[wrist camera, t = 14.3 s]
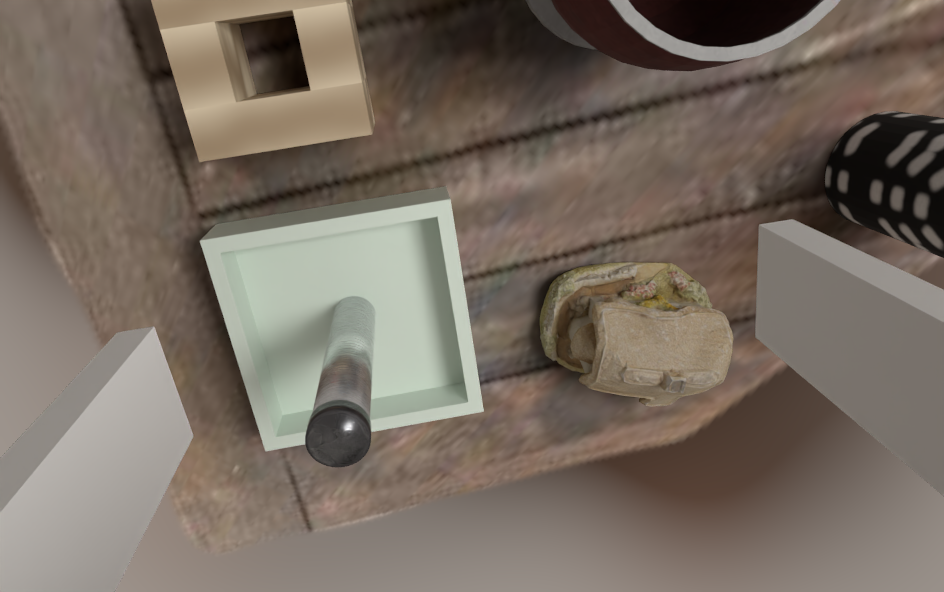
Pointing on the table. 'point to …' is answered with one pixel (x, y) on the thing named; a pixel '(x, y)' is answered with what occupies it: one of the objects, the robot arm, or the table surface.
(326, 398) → the pin
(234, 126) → the hitch block
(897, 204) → the white-spotted black cylinder
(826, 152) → the table surface
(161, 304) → the table surface
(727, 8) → the mate gourd
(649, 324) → the ceramic model
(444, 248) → the tray
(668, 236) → the table surface
